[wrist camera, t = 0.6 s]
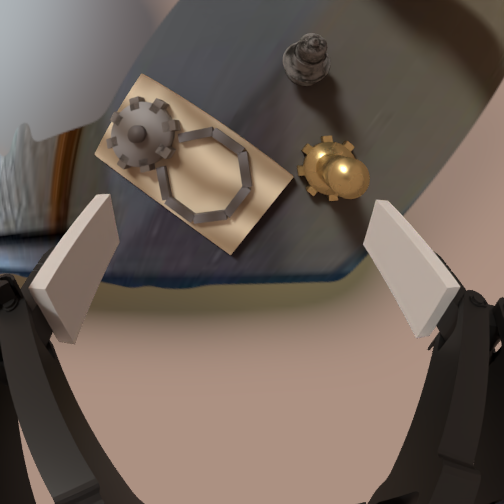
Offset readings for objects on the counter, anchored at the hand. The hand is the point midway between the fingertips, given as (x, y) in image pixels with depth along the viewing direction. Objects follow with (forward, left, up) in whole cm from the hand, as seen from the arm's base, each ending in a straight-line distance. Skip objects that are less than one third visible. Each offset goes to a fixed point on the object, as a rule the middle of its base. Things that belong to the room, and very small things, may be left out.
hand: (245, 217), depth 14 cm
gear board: (+6, -9, -26) cm, 28 cm away
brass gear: (-5, +7, -26) cm, 27 cm away
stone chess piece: (-14, -5, -26) cm, 30 cm away
